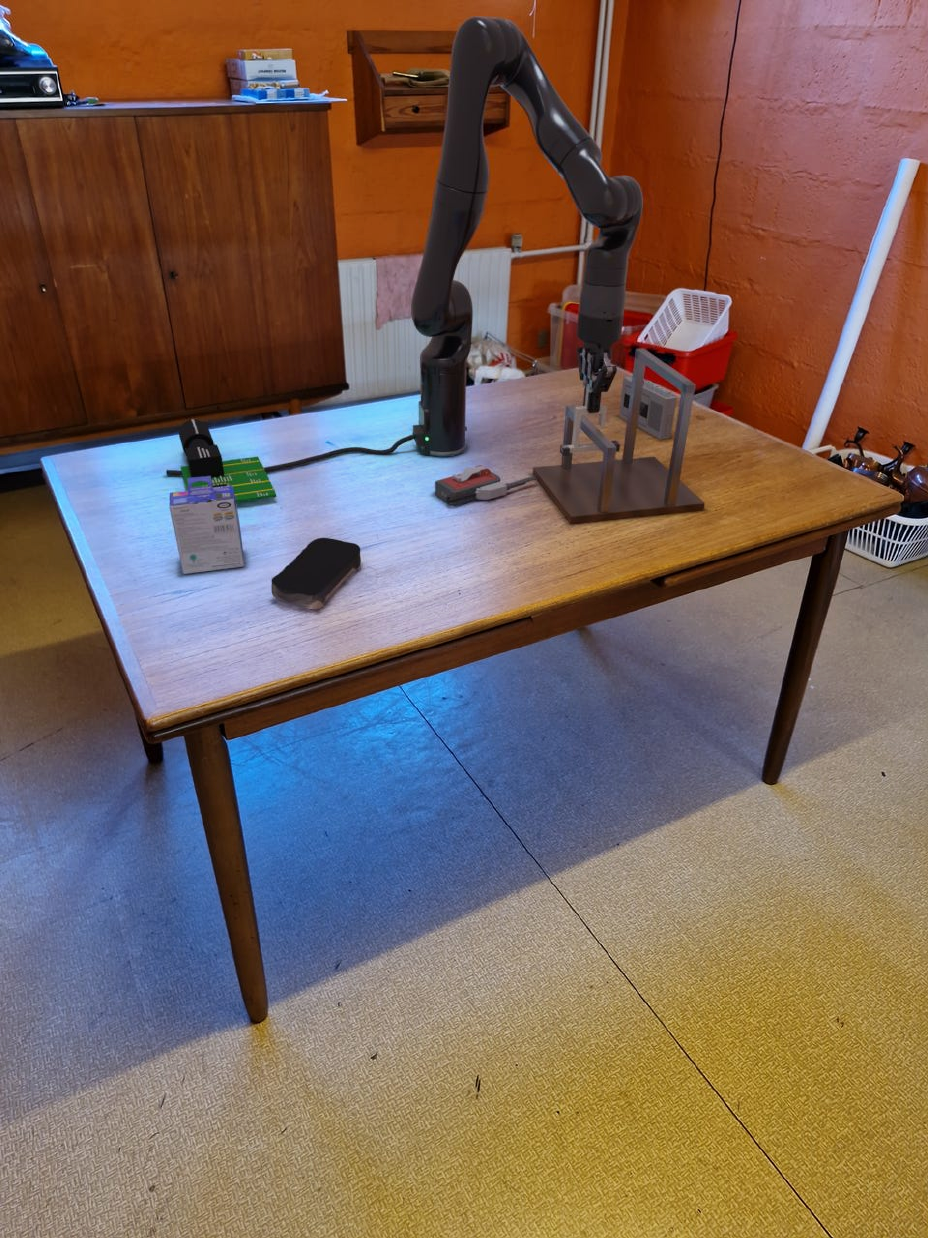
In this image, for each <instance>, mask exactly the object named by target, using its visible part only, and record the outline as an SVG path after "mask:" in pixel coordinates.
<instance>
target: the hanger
mask: <svg viewBox="0 0 928 1238" xmlns="http://www.w3.org/2000/svg"><path fill="white" fill-rule="evenodd" d="M588 392H589V384H587V388H586V398H585V406H583V405H580V406H575V415H574V426H573V437H572V445H563V444H560V445H559V453H560V455H561V456H562V455H563V456H569V454H570V453H583V452H584V453H585V452H597V451H601V450H600V449H599V448H598V447H597V446H596V445H595V444H594V443H593V442H590V443H580V435H581V434H580V432H581V429H580V424H581V415H584V416H591V415H598V423H597V424H598V425H599V426H600V427H601V428H602V427H606V423H607V411H608V406H606V404H600V411H599V412H598V413H589V412H588V411H587V402H588ZM610 441H611V442H612V443H613V444H614V445H615V446H616V453H617V452H618V453H619V452H620V449H621V444H620V443H619V441H617V440H610Z"/></svg>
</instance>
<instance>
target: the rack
mask: <svg viewBox="0 0 928 1238" xmlns="http://www.w3.org/2000/svg"><path fill="white" fill-rule="evenodd" d="M634 355H635V356H634V364H633V370H632V371H633V372H632V376H633V378H632V386H631V394H630V402H629V410H628V418H627V421H626V427H625V434H624V443H623V451H622V458H621V459H616V453H617V452H616V446H615V445H614V444H613V443H612V442H611V441H612V440H610V439H609V438H608V437H607V436H606V435H605V434H604V433H603V432H602V431H601V430H600V429H599V428H598V427H597V426H596V425H595V424H594V423H593V422H592V421H591V420H590V419H588V417H587V416H586V415H581V424H580V431H581V432H583V434H584V435H586V437H587V438H589V440H590V441H591V442H592V443H594V444H595V445H596V446H597V447H598V448H599V449H600V450H599V451H601V452H602V453H603V454H602V455H603V456H602V461H600V460H599V461H592V462H591V461H590V462H580V463H573V453H570V454H569V456H563V455H562V454H561V462H560V463H561V464H557V465H546V466H544V465H543V466H535V467H532V476H535V477H536V481H537V482H538V483H539V484H540V486H541V487H542V489H543V490H544V491H545V492H546V494H547V495H548V496H549V498H550V499H551V501H552V502H553V503H554V504H555V506H556V507H557V508H558V510H559V511H560V513H561V514H562V515H563V516H564V517H565V520H567V522H568V523H569V524H570V525H574V524H584V523H585V524H586V523H595V522H605V521H614V520H615V521H616V520H621V519H622V520H623V519H631V518H633V519H634V518H642V517H651V516H652V517H653V516H662V515H670V514H671V515H672V514H680V513H689V512H690V513H691V512H700V511H704V510H705V505H706V503H705V501H703V500H702V499H701V498H700V497H699V496H698V495H697V494H695V492H693V490H691V488H689V487H688V486H687V485H686V483H684V482H683V481H681V474H682V468H683V462H684V457H685V450H686V445H687V437H688V434H689V433H688V432H689V426H690V420H691V414H692V409H693V404H694V403H693V402H694V397H695V390H696V384H695V382H692V380H690V379H689V378H687V377H686V376H684V375H683V374H681V373H680V372H678V371H677V370H675V369H674V368H672V367H671V366H670V365H668V364H667V363H666V362H664V361H663V360H661V359H659V357H657V356H655V355H654V354H653V353H651V352H650V351H648V350H647V349H645V348H636V349H635V354H634ZM646 367H647V368H649V369H650V370H652V371H653V372H654V373H656V374H657V375H658V376H660V377H661V378H663V379H664V380H665V381H667V382H668V383H669V384H670V385H672V386H673V387H675V388H676V389H678V391H680V397H679V404H678V410H677V417H676V423H675V429H674V436H673V442H672V448H671V454H670V460H669V466H668V467H666V466H665V465H664V463H662V462H661V461H660V460H659V459H658V458H657V457H656V456H647V457H646V456H645V457H634V455H635V454H634V452H635V445H636V440H637V433H638V431H637V430H638V427H637V424H638V417H639V409H640V402H641V394H642V387H643V379H645V378H644V377H645V370H646ZM575 407H576V405H575V404H570V405H569V404H568V405H565V415H564V426H563V437H562V438H563V439H562V445H572V437H573V426H574V415H575Z"/></svg>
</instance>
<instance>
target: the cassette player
mask: <svg viewBox="0 0 928 1238" xmlns="http://www.w3.org/2000/svg"><path fill="white" fill-rule="evenodd" d="M632 378H633V375H632V376H627V377H623V379H622V386H621V394H620V405H619V410H618V411H619V412H618V417H619V418H621V419H622V420H624V421H626V422H627V418H628V410H629V402H630V394H631V386H632ZM677 399H678V398H677V396H674V395H673V394H672V391H670V390H668V389H666V388H665V387H662V386H660V385H658V384H656V383H654V382H652V381H650V380H648V379H645V378H644V379H643V387H642V394H641V402H640V409H639V417H638V424H637V428H639V429H640V430H642V431H644V432H646V433H648V434H649V435H651V436H653V437H655V438H656V439H658V440H661V441H662V440H666V439H671V437H672V431H673V424H674V418H675V411H676V406H677Z"/></svg>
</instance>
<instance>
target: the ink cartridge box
mask: <svg viewBox="0 0 928 1238" xmlns="http://www.w3.org/2000/svg"><path fill="white" fill-rule="evenodd" d="M187 481H188V491H187V490H182V491H175V492H169V503H168V504H169V507H168V508H169V512H170V516H171V522H172V527H173V532H174V537H175V540H176V541H175V542H176V547H177V551H178V556H179V562H180V567H181V573H182V575H189V574H195V573H203V572H209V571H211V572H212V571H216V570H217V571H218V570H227V569H234V568H241V567H245V557H244V548H243V538H242V532H241V524H240V518H239V512H238V506H237V503H236V500H235V495H234V491H233V487H232V485H230V486H222V487H214V488H213V486H212V481H211V476H203V477H192V478H187ZM198 481H203V482H207V483H208V486H203V487H192V486H191V485H192V484H193V483H195V482H198Z"/></svg>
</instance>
